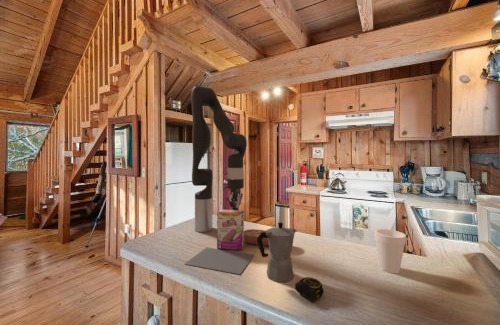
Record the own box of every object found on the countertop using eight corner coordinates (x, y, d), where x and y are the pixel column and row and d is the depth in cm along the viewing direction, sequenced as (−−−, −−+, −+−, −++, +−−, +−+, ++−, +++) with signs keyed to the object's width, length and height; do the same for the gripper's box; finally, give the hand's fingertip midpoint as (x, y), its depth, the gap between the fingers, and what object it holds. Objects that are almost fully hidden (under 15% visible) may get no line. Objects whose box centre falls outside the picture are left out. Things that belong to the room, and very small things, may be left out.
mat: (206, 248, 99) (206, 247, 99) (254, 255, 92) (254, 254, 92) (184, 264, 84) (184, 263, 84) (240, 274, 77) (240, 274, 77)
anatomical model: (239, 245, 103) (239, 234, 103) (248, 237, 112) (248, 227, 112) (289, 253, 94) (289, 241, 94) (294, 245, 103) (294, 234, 103)
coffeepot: (287, 265, 84) (288, 216, 83) (304, 277, 75) (305, 223, 75) (250, 274, 77) (250, 222, 77) (264, 289, 69) (264, 230, 68)
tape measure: (293, 293, 67) (293, 280, 67) (309, 285, 71) (309, 274, 71) (311, 305, 61) (312, 292, 61) (328, 297, 65) (328, 284, 65)
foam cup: (394, 278, 75) (395, 239, 75) (368, 266, 83) (369, 231, 83) (410, 271, 80) (411, 235, 79) (384, 260, 88) (385, 227, 87)
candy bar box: (216, 249, 97) (216, 211, 97) (219, 245, 102) (219, 209, 102) (242, 251, 96) (242, 212, 96) (244, 246, 101) (244, 209, 101)
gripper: (233, 176, 111) (233, 211, 111) (221, 178, 98) (221, 218, 99) (248, 176, 108) (247, 212, 109) (237, 179, 96) (237, 220, 96)
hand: (235, 215), depth 104 cm, fingers closed
